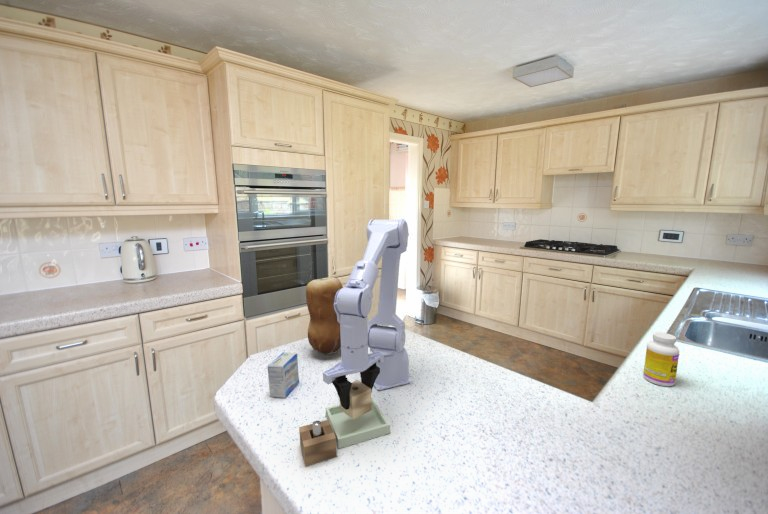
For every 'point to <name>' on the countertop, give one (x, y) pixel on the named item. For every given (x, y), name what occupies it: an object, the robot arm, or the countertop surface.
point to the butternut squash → (323, 315)
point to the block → (358, 400)
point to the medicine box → (283, 374)
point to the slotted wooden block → (317, 443)
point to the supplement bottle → (661, 360)
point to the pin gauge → (316, 429)
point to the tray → (357, 425)
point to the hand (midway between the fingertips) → (356, 402)
